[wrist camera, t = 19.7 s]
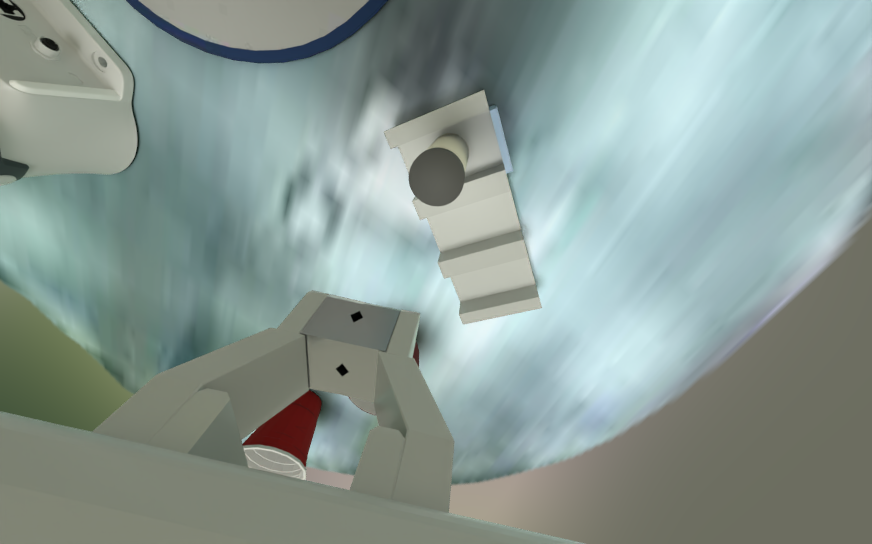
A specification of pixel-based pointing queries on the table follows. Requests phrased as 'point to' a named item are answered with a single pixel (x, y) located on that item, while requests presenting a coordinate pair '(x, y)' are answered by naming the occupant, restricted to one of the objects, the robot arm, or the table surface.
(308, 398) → the plastic cup
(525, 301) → the stepped cream block
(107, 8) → the table surface
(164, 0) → the sun hat
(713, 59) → the table surface
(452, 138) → the grey-capped cream cylinder
